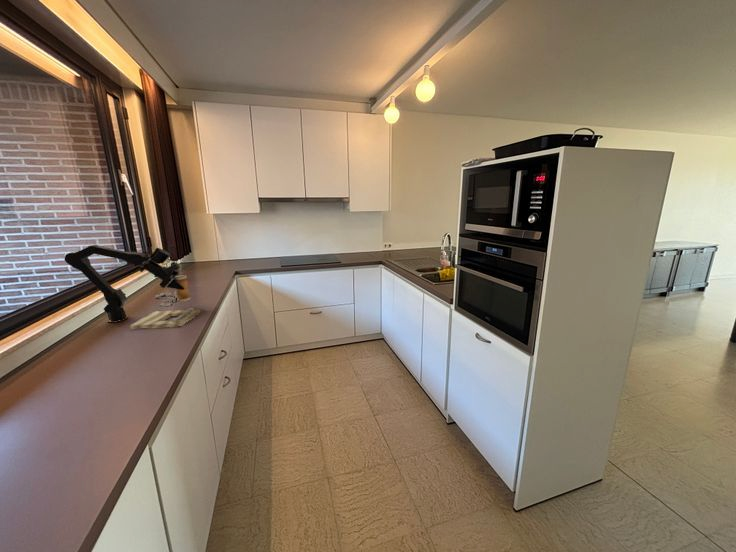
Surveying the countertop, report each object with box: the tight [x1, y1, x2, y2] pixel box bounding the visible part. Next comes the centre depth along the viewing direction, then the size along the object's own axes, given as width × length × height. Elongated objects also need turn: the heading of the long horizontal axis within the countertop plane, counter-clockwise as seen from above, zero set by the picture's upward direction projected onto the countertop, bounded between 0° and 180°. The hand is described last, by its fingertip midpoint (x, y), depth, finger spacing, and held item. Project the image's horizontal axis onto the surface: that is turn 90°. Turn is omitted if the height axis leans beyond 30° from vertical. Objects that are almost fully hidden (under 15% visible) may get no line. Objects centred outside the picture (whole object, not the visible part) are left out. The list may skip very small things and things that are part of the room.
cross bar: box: [171, 307, 195, 323], centre depth 154 cm, size 2×16×2 cm, turn 1°
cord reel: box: [173, 274, 192, 303], centre depth 165 cm, size 6×6×13 cm
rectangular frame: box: [129, 309, 201, 330], centre depth 154 cm, size 24×18×2 cm
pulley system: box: [154, 289, 178, 307], centre depth 189 cm, size 27×5×15 cm
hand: (184, 287), depth 165 cm, fingers closed on cord reel, 6 cm apart
